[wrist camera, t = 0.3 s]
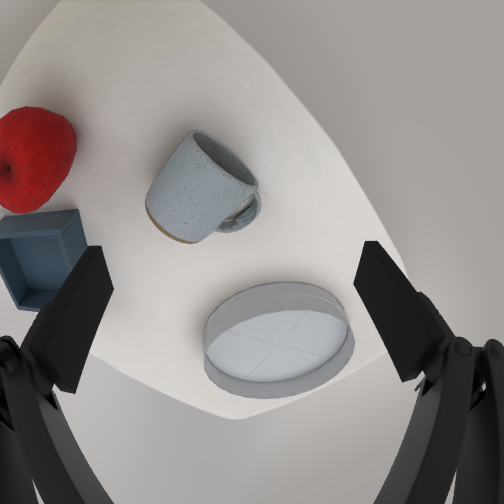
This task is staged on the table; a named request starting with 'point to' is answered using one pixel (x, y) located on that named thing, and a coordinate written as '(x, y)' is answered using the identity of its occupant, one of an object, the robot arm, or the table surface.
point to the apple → (33, 157)
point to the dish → (277, 341)
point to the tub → (39, 255)
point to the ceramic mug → (201, 191)
